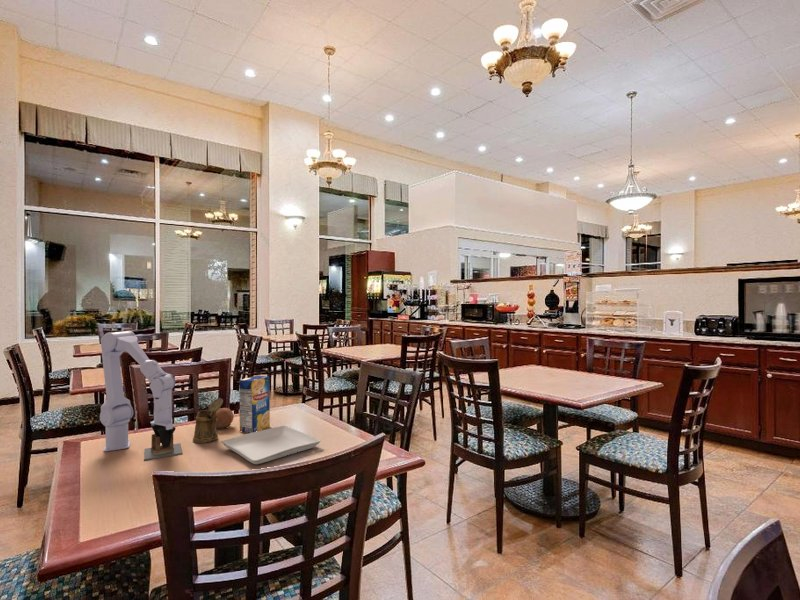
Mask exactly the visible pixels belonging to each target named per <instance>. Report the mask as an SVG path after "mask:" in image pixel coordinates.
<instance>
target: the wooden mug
mask: <svg viewBox="0 0 800 600" xmlns="http://www.w3.org/2000/svg"><path fill="white" fill-rule="evenodd" d="M223 403H224V399H223V398H222V397H217V398H216V399H215V400H213V401H212V402H210V404H209V405H208V407H207V409H205V410H199V411H197V413H196V416H195V427H194V434H193V438H192V443H195V444H208V443H211V442H215V441H216V440H217V439H219V436H218V432H217V429H216V424H217V414H216V411H217V410H218V409H219V408H221V407H222V405H223ZM214 440H215V441H214Z"/></svg>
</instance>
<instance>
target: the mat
mask: <svg viewBox="0 0 800 600" xmlns="http://www.w3.org/2000/svg"><path fill="white" fill-rule="evenodd" d="M173 447H174V451H171V452H167V453H163V454H158V455H155V454H154V453H153V452H151V447H146V448H144V450H143V451H144V454H143V455H144V457H143V461H151V460H157V459H163V458H167V457H174V456H179V455H183V453H184V452H183V449H182V444H181V442H179V443H173Z"/></svg>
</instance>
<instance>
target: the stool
mask: <svg viewBox="0 0 800 600" xmlns="http://www.w3.org/2000/svg"><path fill="white" fill-rule="evenodd" d="M173 444H174V434H173V435H172V438H171V442H170V446H169V447H165V448H163V447H162V444H161V443H160V437H156V434H155V433H153V434H151V447H150V448H151V452H153V453H154V454H155V455H158V454H163V453H167V452H171V451H174V447H173Z"/></svg>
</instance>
